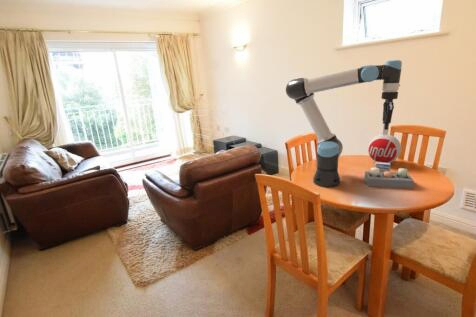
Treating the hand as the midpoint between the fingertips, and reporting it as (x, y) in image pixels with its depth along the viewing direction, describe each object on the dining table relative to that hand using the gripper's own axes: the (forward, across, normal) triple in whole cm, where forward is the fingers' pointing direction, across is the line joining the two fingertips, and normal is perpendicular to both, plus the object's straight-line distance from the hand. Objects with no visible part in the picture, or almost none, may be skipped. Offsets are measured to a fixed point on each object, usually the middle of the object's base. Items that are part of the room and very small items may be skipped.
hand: (384, 134), depth 147 cm
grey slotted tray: (+27, -4, -3) cm, 28 cm away
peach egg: (+26, -4, -3) cm, 27 cm away
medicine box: (+27, +6, -2) cm, 28 cm away
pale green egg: (+24, -4, -10) cm, 26 cm away
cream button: (+24, -4, +4) cm, 25 cm away
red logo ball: (+27, +33, -8) cm, 43 cm away
